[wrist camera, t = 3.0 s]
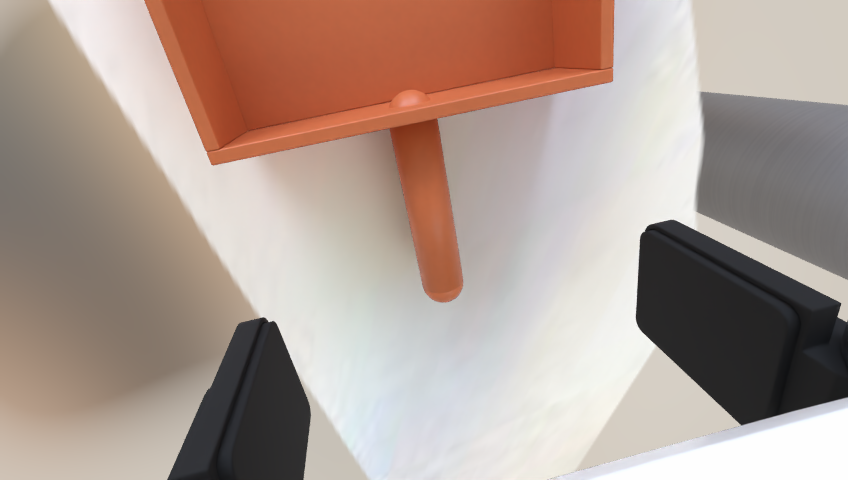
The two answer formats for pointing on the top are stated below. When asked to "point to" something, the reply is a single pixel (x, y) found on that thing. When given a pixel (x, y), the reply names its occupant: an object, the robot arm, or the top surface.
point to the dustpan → (376, 81)
